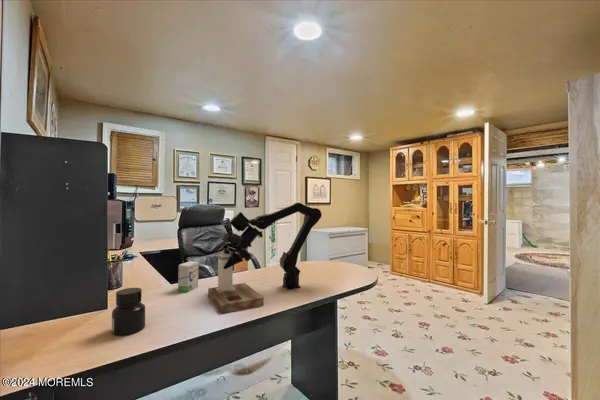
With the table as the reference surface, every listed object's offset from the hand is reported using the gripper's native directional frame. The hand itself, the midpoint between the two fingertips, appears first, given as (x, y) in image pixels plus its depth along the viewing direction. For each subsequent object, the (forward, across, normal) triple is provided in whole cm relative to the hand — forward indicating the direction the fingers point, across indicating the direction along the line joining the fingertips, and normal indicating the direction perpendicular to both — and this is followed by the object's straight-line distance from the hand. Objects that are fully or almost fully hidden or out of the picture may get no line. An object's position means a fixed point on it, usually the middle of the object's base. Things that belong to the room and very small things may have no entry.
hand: (221, 267), depth 117 cm
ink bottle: (+33, +10, -15) cm, 38 cm away
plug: (+5, 0, +8) cm, 9 cm away
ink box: (+14, -19, +4) cm, 24 cm away
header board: (+7, +6, +11) cm, 14 cm away
